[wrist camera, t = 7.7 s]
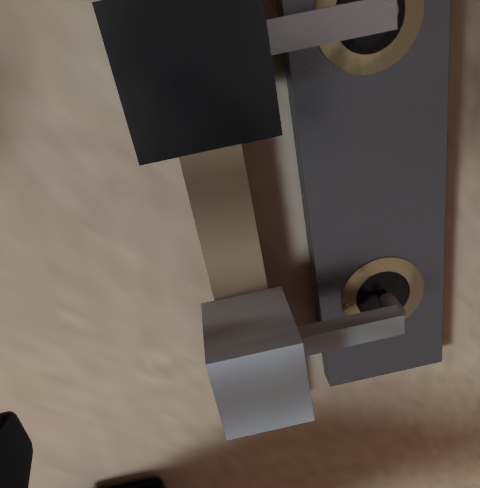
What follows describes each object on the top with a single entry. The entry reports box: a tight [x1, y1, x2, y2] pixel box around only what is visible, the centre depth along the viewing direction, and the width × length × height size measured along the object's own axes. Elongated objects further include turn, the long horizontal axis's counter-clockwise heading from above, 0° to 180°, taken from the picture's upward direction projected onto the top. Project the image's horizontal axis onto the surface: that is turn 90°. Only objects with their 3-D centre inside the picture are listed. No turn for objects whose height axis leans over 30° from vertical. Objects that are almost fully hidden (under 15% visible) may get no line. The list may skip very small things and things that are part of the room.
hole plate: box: [277, 0, 450, 386], centre depth 19 cm, size 22×6×1 cm, turn 10°
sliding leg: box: [92, 0, 399, 165], centre depth 12 cm, size 4×9×8 cm, turn 100°
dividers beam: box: [179, 144, 405, 440], centre depth 17 cm, size 25×9×6 cm, turn 10°
